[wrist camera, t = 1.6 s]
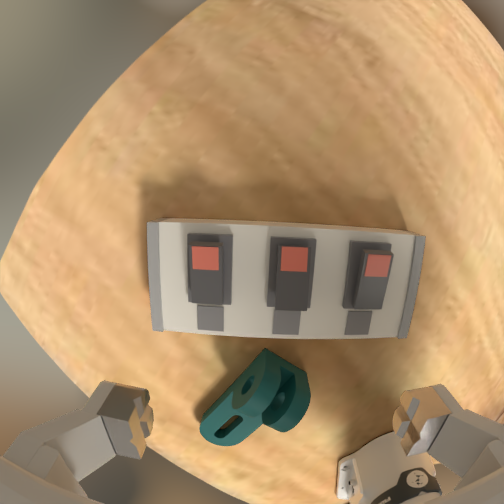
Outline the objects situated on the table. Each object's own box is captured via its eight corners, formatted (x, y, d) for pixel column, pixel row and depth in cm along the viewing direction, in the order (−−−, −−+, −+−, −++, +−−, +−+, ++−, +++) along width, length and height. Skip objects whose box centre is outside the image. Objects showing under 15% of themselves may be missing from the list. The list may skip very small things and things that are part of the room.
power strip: (393, 322, 35) (407, 339, 30) (164, 315, 36) (151, 332, 31) (408, 230, 32) (427, 237, 28) (160, 217, 33) (145, 222, 28)
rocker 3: (378, 304, 29) (381, 309, 28) (351, 304, 29) (354, 309, 28) (390, 250, 27) (394, 254, 26) (362, 249, 27) (365, 253, 26)
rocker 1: (223, 300, 29) (222, 305, 28) (194, 298, 29) (191, 303, 28) (223, 242, 27) (221, 246, 26) (191, 241, 27) (188, 245, 26)
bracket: (265, 347, 36) (265, 383, 29) (305, 371, 37) (313, 409, 29) (194, 422, 40) (183, 459, 32) (230, 441, 40) (225, 478, 32)
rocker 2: (305, 308, 28) (307, 311, 27) (274, 307, 28) (275, 310, 27) (309, 246, 28) (311, 246, 27) (277, 244, 28) (278, 245, 27)
